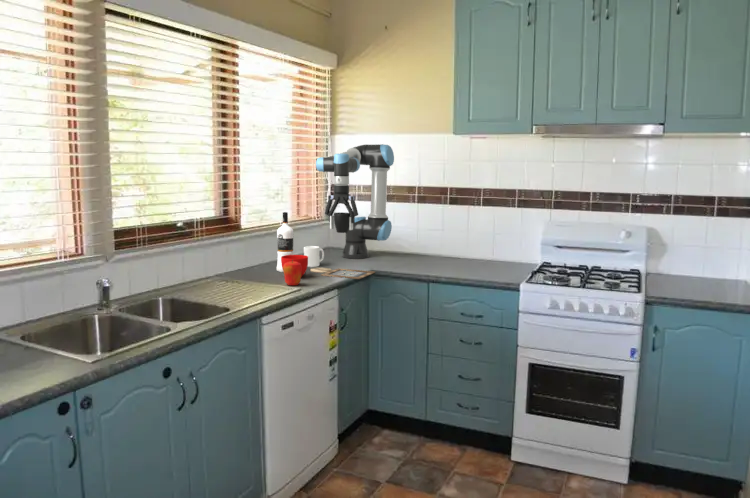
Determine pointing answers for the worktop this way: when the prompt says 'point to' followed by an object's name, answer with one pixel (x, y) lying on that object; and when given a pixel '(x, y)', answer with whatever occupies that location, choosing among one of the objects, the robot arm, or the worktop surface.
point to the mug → (341, 222)
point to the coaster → (320, 270)
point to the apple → (292, 272)
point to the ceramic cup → (297, 258)
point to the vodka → (284, 241)
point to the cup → (313, 255)
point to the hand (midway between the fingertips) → (341, 229)
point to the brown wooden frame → (348, 274)
